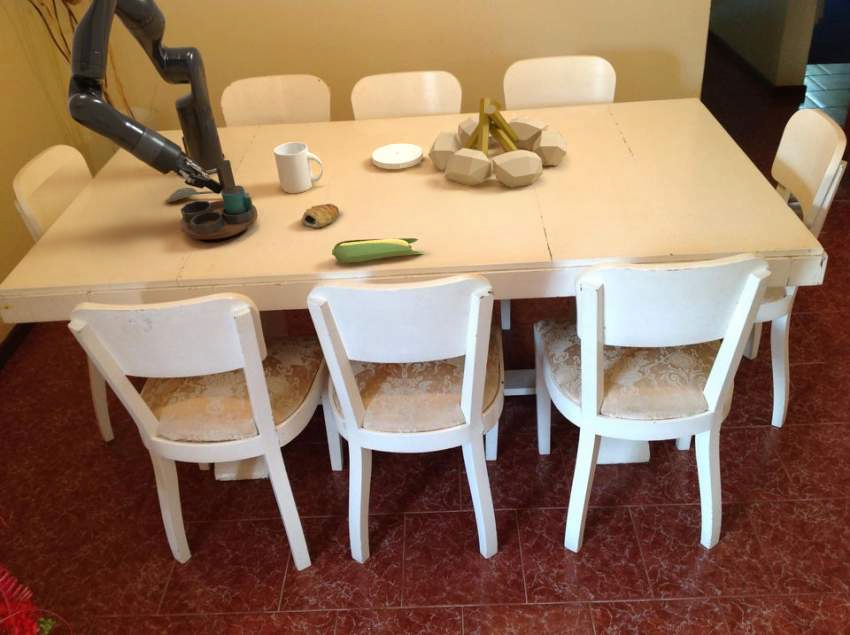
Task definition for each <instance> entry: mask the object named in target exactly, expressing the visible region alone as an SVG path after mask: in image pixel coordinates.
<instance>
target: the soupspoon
mask: <svg viewBox="0 0 850 635" xmlns="http://www.w3.org/2000/svg"><path fill="white" fill-rule="evenodd" d="M207 194H209V195H210V194H216V193H215V192H213V191H211V190H209V191H197V189H195V188H194V187H182V188H179V189H177V190H175V191H174V192H172V193H171V195H170V196H169V197H168V200H167V202H168V203H173V202H176V201H178V200H182V199H184V198H188V197H191V196H196V195H207ZM220 194H221V192H220ZM245 195H246V197H251V196H250V195H251V192H250V191H245Z"/></svg>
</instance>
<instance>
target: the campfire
mask: <svg viewBox="0 0 850 635" xmlns="http://www.w3.org/2000/svg"><path fill="white" fill-rule="evenodd" d="M502 107H503V105H502V104H500V102H498V101H496V100H493V101H492V102H491V98H489V97H482V98H480V99H479V114H478V115H476V116H470V117H468V118H467V119H465V120H463V121H462V122H460V123H458V126H457V131H440V133H438V134H437V135H436V138H435V140H434V141H433V144H432V145H431V147H430V150H429V152H428V154H427V156H428V157H429V159H430V160H431V162H432V163H433V166H435V168H436V169H438V170H441V171H444V170H445V171H444V175H443V177H444V178H446V179H449V180H451V181H453V182H456V183H458V184H462V185H466V186H474V185H479V184H482V183H484V182H485V181H487V180H488V179H489V178H490V177H491V176H492V165H493V169H494V175H495V179H496V180H498V181H500V182H501V183H503V184H504V185H506V186H508V187H510V188H511V189H513V188H518V187H523V186H530V185H532V184H533V183H535V182H536V180H538V179H539V178H540V177H541V176H542V175H543V174H544V172H543V171H544V169H543V166H549V167H551V166H553V167H554V166H555V167H557V166H559V164H560V163H561V161H562V160H563V158H564V157H565V156H566V154H567V153H568V143H567V141H566V139H565V138H564V136H563V135H562V133H561V131H559V130H558V131H557V130H556V131H553V130H552V131H551V130H550V131H549V130H548V129H549V123H548V122H546V121H543V120H540V119H538V118H536V117H535V118H534V117H530V116H520V117H516V118H513V119H511V120H509V121H507V120H506V119H505V117H504V116H503V115H502V114H501V112H500V110H501V109H502ZM495 142H496V143H497V144H498V145H499V147H500V148H501V149H502V150H503V151H504V153H502V154H498V155H496V156H494V157H491V160H492V162H491V160H490V159H489V148H491V147H492V146H493V144H494V143H495Z"/></svg>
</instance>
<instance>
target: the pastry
mask: <svg viewBox="0 0 850 635" xmlns="http://www.w3.org/2000/svg"><path fill="white" fill-rule="evenodd" d="M339 215H340V210H339V207H338V205H335V204H333V203H325V204H320V205H319V204H318V205H312V206H311V208H307V209H306V210H305V212H304V213H303V214H302V217H301V223H302V224H304V226H306V227H313V228H317V229H318V228H324V227H326V226H327V225H328V224H332V223H333V221H335V220H336V219H337V218H338V216H339Z"/></svg>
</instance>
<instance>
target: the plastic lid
mask: <svg viewBox="0 0 850 635" xmlns="http://www.w3.org/2000/svg"><path fill="white" fill-rule="evenodd" d="M423 151H424V150H423V148H422V147H420V146H419V145H416V144H412V143H403V142H402V143H392V144H386V145H384V146H381V147H378V148H376V149H375V150H373V152H372V154H371V160H372V163H373V165H375V167H378V168H382V169H388V170H397V169H406V168H410V167H414V166H415V165H418V164H419V163H420V162H422V160H423V159H424V152H423Z"/></svg>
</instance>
